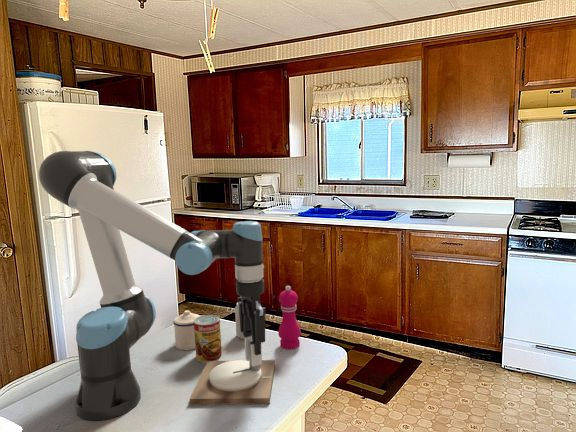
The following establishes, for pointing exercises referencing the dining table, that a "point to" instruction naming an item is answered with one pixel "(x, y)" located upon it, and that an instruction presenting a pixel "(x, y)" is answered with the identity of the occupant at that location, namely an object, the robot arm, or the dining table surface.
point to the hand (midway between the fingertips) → (253, 361)
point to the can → (238, 323)
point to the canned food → (207, 338)
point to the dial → (235, 374)
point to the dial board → (253, 395)
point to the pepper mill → (289, 320)
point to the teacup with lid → (185, 330)
